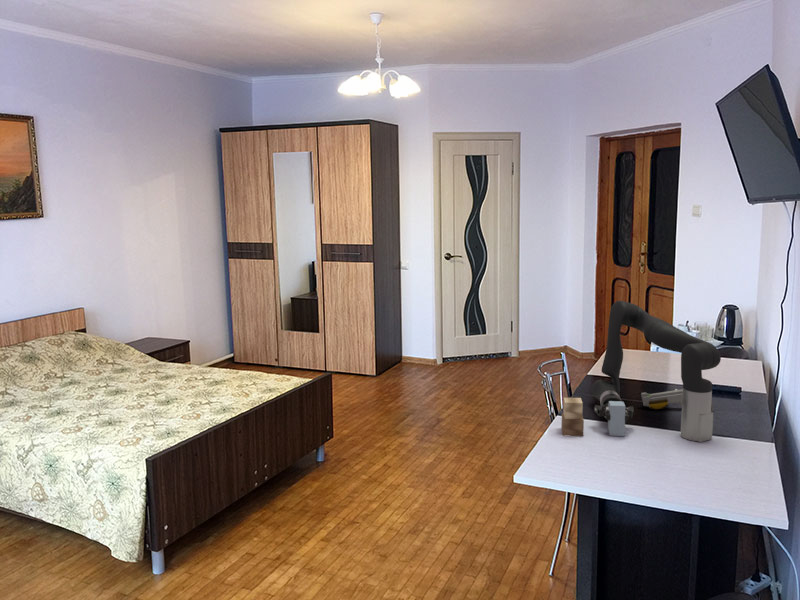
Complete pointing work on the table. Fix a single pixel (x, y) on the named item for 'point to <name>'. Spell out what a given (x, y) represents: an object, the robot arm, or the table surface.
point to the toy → (664, 399)
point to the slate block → (616, 418)
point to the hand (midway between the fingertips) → (617, 418)
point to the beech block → (573, 408)
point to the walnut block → (572, 426)
